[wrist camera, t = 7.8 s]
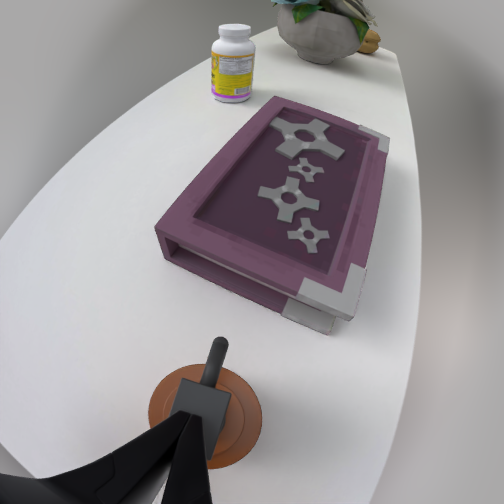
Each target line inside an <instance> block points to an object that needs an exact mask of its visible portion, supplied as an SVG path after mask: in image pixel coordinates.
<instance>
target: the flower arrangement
mask: <svg viewBox="0 0 504 504" xmlns="http://www.w3.org/2000/svg"><path fill="white" fill-rule="evenodd" d="M271 1H272V2H275V4H274V5H273V6H275V5H276V4H277V3H280V4H283V5H282V7H281V9H280V11H279V14H278V22H277V27H278V31H279V35H280V36H281V38H282V39H283V40H284V41H285V42H286V43H287V44H289V45H290V46H291V47H293V48H295V49H296V50H297V52H298V55H299V56H300V57H301V58H302V59H305V60H307V61H310V62H314V63H319V64H329V63H331V62H332V61H333V59H336V58H345V57H347V56H350V55H352V54H354V53H356V52H357V50H358V49H359V48H360V47H361V45H362V44H363V41H364V38H365V35H366V33H367V31H368V29H369V26H368V24H369V25H371V23H369V22H368V21H372V22H373V23H374V25H375V26H377V24H376V22H375V21H374V20H372V19H374V18H375V16H374V15H373V14H372V13H371V12H370V10H369V9H368V7H367V6H366V5H365V4H364V3H363V1H362V0H271ZM368 10H369V11H368ZM367 23H368V24H367Z"/></svg>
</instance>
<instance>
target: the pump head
mask: <svg viewBox="0 0 504 504" xmlns="http://www.w3.org/2000/svg"><path fill="white" fill-rule="evenodd" d="M228 345H229V344H228V341H227V339H226V338H224V337H217V338H215V339H214V341H213V344H212V347H211V350H210V353H209V356H208V359H207V362H206V365H205V368H204V371H203V374H202V377H201V380H200V383H197V382H194V381H191V380H189V379H186V378H181V381H180V384H179V387H178V390H177V392H176V395H175V398H174V401H173V404H172V407H171V410H170V413H169V416H171V415H172V414H174V413H175V412H177V411H178V410H184V411H186V412H189V413H190V414H195V415H198V416H201V417H202V418H203V427H204V438H205V448H206V458H207V460H208V461H211V459H212V456H213V453H214V450H215V447H216V444H217V441H218V438H219V434H220V431H221V428H222V425H223V422H224V418H225V415H226V412H227V409H228V405H229V402H230V399H231V395H232V394H231V393H230V392H226V391H223V390H219V389H216V388H215V387H216V384H217V381H218V378H219V374H220V371H221V368H222V365H223V362H224V359H225V355H226V352H227V349H228ZM169 416H168V417H169Z"/></svg>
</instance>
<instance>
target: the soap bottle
mask: <svg viewBox="0 0 504 504" xmlns="http://www.w3.org/2000/svg"><path fill="white" fill-rule="evenodd" d="M205 365H206V364H195V365H189V366H185V367H182V368H180V369H177V370H175V371H174V372H172V373H170V374H169V375H168V376H166V377H165V378H164V379H163V380H162V381H161V382H160V383H159V385H158V386H157V387H156V389H155V391H154V392H153V395H152V397H151V400H150V404H149V411H148V416H149V424H150V428H152V427H154V426H155V425H157V424H159V423H160V422H162V421H163V420H165V419H166V418H168V416H169V413H170V410H171V407H172V404H173V401H174V398H175V395H176V392H177V390H178V387H179V384H180V381H181V378H186V379H189V380H191V381H194V382H197V383H200V380H201V377H202V374H203V371H204V368H205ZM215 388H216V389H219V390H223V391H226V392H230V393H231V394H232V395H231V399H230V402H229V405H228V409H227V412H226V415H225V418H224V422H223V425H222V428H221V431H220V434H219V438H218V441H217V444H216V447H215V450H214V453H213V456H212V459H211V461H208V460H207V467H208V469H219V468H223V467H226V466H229V465H232V464H234V463H236V462H237V461H239V460H241V459H242V458H243V457H245V456H246V455H247V454H248V453H249V452H250V451H251V449H252V448H253V447H254V445H255V443H256V442H257V440H258V437H259V435H260V432H261V427H262V412H261V407H260V404H259V401H258V398H257V396H256V395H255V393H254V391H253V390H252V388H251V387H250V386H249V385H248V384H247V382H246V381H245V380H243V379H242V378H241V377H240V376H238V375H237V374H235V373H234V372H232V371H230V370H228V369H225V368H223V367H222V368H221V371H220V374H219V378H218V381H217V384H216V387H215Z"/></svg>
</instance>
